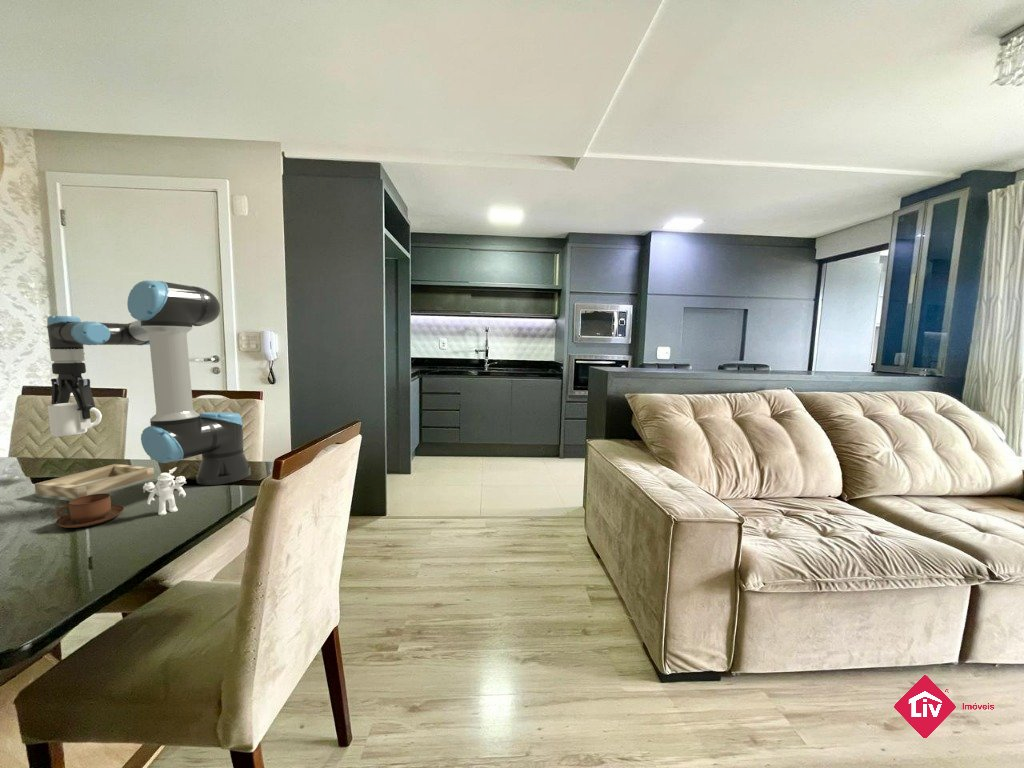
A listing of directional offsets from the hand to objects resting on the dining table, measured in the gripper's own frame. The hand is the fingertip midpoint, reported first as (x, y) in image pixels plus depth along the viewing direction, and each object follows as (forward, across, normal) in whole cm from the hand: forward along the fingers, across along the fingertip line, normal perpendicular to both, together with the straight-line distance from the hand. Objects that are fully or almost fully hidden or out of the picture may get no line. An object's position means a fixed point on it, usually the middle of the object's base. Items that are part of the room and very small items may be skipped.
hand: (75, 427), depth 133 cm
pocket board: (+17, -20, +7) cm, 27 cm away
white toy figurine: (+18, -59, +16) cm, 64 cm away
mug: (+2, -1, 0) cm, 2 cm away
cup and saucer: (+18, -46, +24) cm, 55 cm away
